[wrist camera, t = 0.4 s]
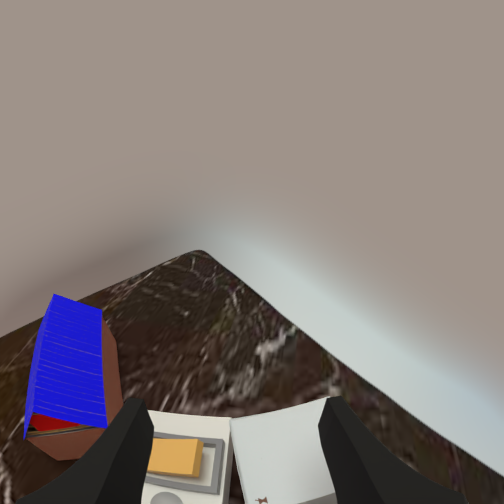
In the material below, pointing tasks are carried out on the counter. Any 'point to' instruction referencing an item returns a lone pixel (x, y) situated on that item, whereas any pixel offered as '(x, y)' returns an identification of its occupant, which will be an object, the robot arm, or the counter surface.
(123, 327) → the counter surface
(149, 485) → the cream switch panel
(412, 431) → the counter surface
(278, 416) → the supplement box
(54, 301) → the house
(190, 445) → the amber rocker
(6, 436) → the counter surface
